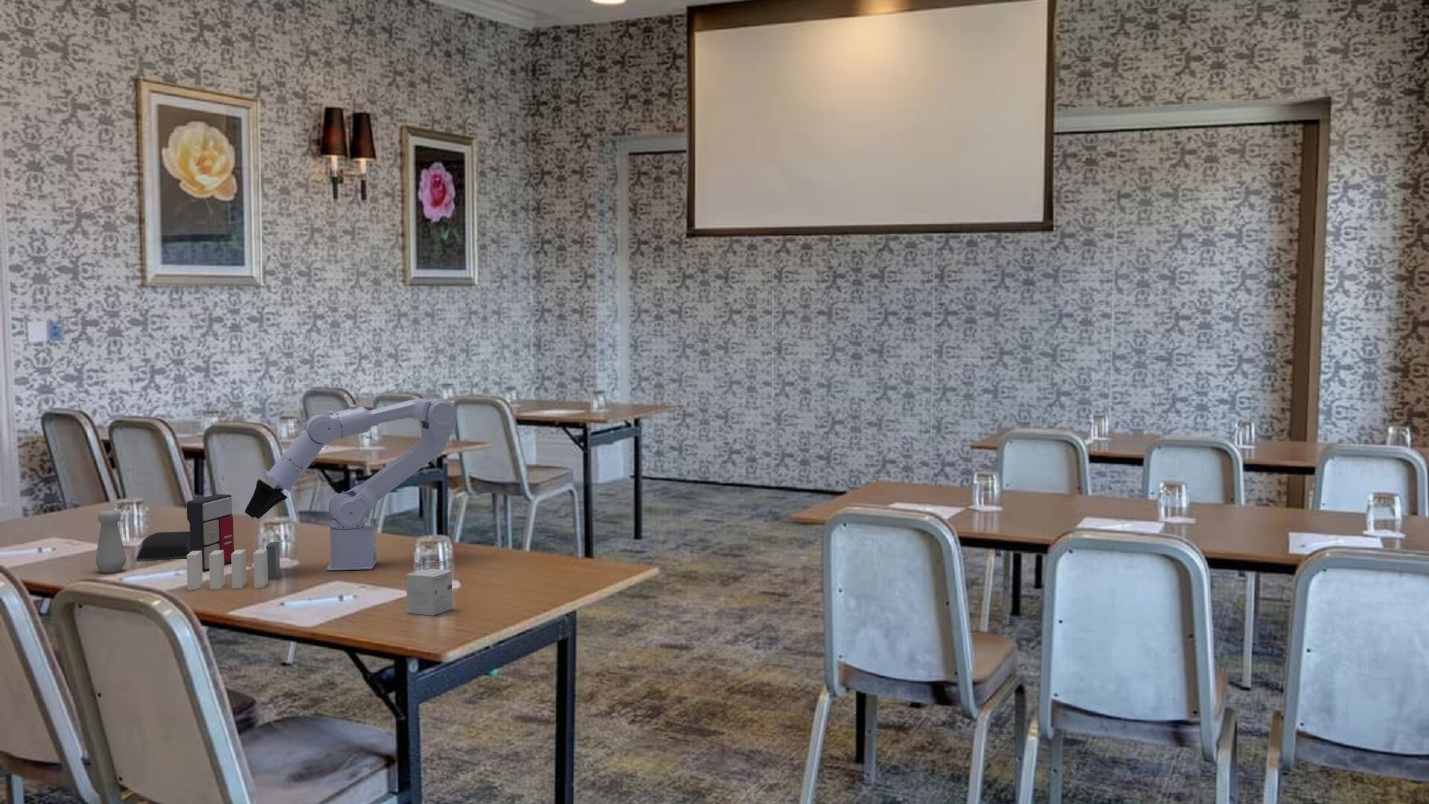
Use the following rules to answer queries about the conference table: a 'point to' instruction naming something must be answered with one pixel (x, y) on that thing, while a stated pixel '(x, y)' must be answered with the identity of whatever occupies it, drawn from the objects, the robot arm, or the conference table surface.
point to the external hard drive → (164, 546)
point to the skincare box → (429, 591)
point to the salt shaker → (110, 543)
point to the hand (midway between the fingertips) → (251, 515)
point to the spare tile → (273, 560)
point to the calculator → (211, 526)
